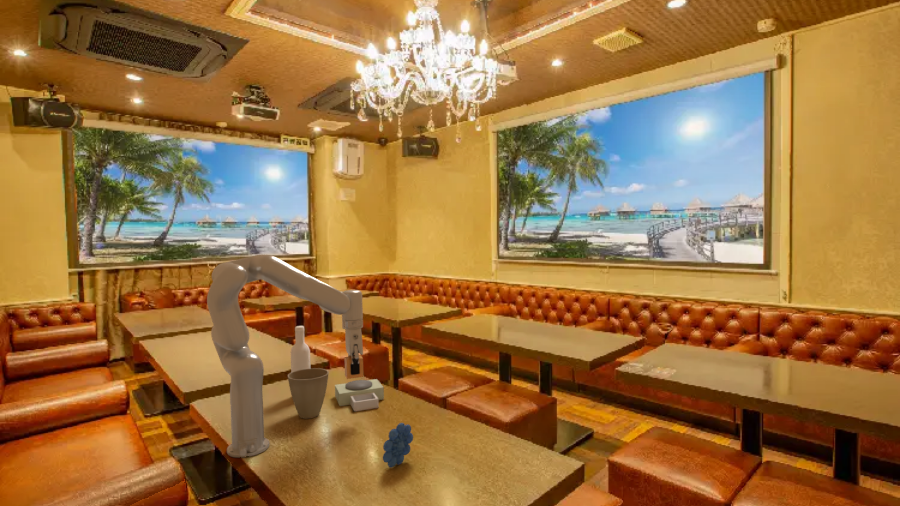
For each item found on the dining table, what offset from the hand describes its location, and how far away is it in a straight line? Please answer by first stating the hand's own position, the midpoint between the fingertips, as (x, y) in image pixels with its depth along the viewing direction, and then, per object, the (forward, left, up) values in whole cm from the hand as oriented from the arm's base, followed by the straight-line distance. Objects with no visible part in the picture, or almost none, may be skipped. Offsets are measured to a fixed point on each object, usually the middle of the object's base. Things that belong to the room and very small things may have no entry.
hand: (353, 371), depth 172 cm
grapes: (-40, -5, -18) cm, 44 cm away
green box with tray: (+16, -6, -17) cm, 25 cm away
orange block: (0, 0, -2) cm, 2 cm away
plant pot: (+10, +15, -18) cm, 26 cm away
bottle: (+32, +16, -18) cm, 40 cm away
